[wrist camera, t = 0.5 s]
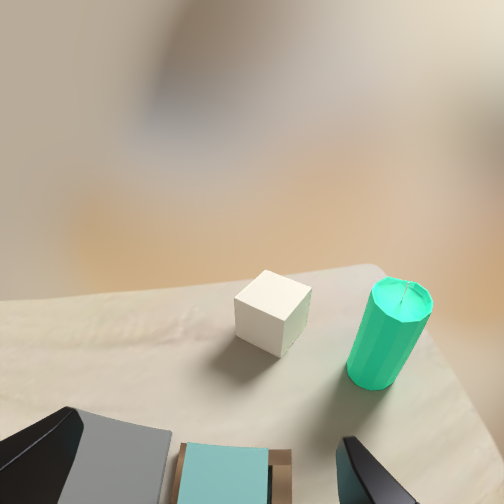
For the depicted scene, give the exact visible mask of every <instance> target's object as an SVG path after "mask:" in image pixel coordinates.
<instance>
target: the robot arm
mask: <svg viewBox="0 0 504 504" xmlns="http://www.w3.org/2000/svg"><path fill="white" fill-rule="evenodd" d="M83 430H84V423H83V421H82V419H81V417H80V415H79V413H78V411H77V410H76V409H75V408H72V407H68V406H66V407H64V408H62V409H60V410H58V411H57V412H55V413H53V414H51V415H49V416H47V417H46V418H44V419H42V420H40V421H38V422H36V423H34V424H33V425H31V426H29V427H27V428H25V429H23V430H21V431H19V432H17V433H16V434H14V435H12V436H10V437H8V438H6V439H4V440H2V441H0V504H58V501H59V498H60V496H61V493H62V490H63V488H64V485H65V483H66V480H67V478H68V475H69V473H70V470H71V468H72V465H73V463H74V460H75V457H76V454H77V450H78V447H79V443H80V440H81V437H82V433H83ZM336 466H337V481H338V495H339V501H340V504H419V503H418V502H416V500H415V499H414V498H413V497H412V496H411V495H410V494H409V493H408V492H407V491H406V490H405V489H404V488H403V487H402V486H401V485H400V484H399V483H398V482H397V481H396V479H395V478H394V477H393V476H392V475H391V474H390V473H389V472H388V471H387V470H386V469H385V468H384V467H383V466H382V465H381V464H380V463H379V462H378V461H377V460H376V459H375V457H374V456H373V455H372V454H371V453H370V452H369V451H368V450H367V449H366V448H365V447H364V446H363V445H362V443H361V442H360V441H359V440H358V439H357V438H356V437H355V436H344V437H342V438H341V439H340V442H339V445H338V448H337V450H336Z"/></svg>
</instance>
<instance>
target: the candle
mask: <svg viewBox="0 0 504 504" xmlns="http://www.w3.org/2000/svg"><path fill="white" fill-rule="evenodd" d="M432 308H433V301H432V298H431V296H430V294H429V292H428V290H426V289H425V288H423V287H422V286H421V285H419V284H418V283H416V282H411V281H405V280H400V279H396V278H392V277H386V278H384V279H382V280H381V281H379V282H377V283H376V284H375V285H374V287H373V288H372V290H371V293H370V296H369V300H368V303H367V306H366V309H365V312H364V315H363V318H362V321H361V324H360V327H359V330H358V333H357V336H356V339H355V342H354V345H353V347H352V350H351V353H350V355H349V358H348V361H347V372H348V375H349V377H350V378H351V379H352V381H353V382H354V383H355V384H356V385H358V386H360V387H362V388H364V389H366V390H383V389H385V388H386V387H388V386H389V385H391V384H392V383H393V382H394V380H395V379H396V377H397V375H398V374H399V372H400V370H401V369H402V367H403V365H404V364H405V362H406V360H407V358H408V357H409V355H410V353H411V351H412V349H413V348H414V346H415V344H416V342H417V340H418V338H419V336H420V334H421V333H422V331H423V329H424V327H425V325H426V322H427V320H428V318H429V316H430V314H431V312H432Z"/></svg>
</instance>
